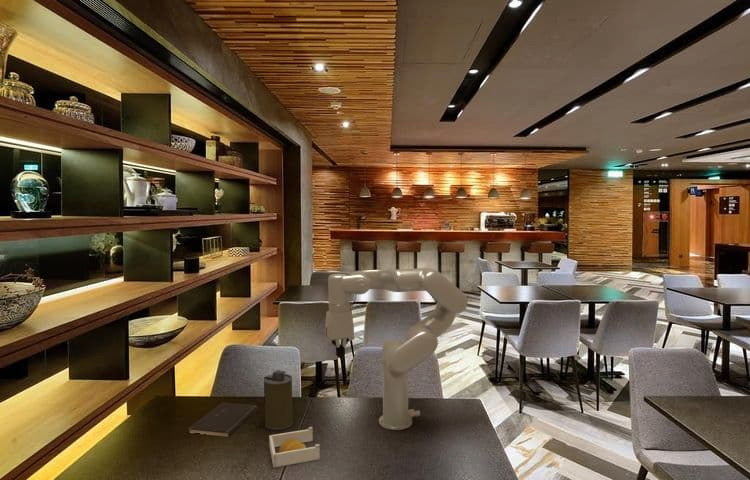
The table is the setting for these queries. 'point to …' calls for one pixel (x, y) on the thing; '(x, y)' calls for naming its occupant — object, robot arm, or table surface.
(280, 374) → the canister
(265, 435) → the table surface
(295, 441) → the bread roll
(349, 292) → the robot arm
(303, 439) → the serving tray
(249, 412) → the hardcover book
